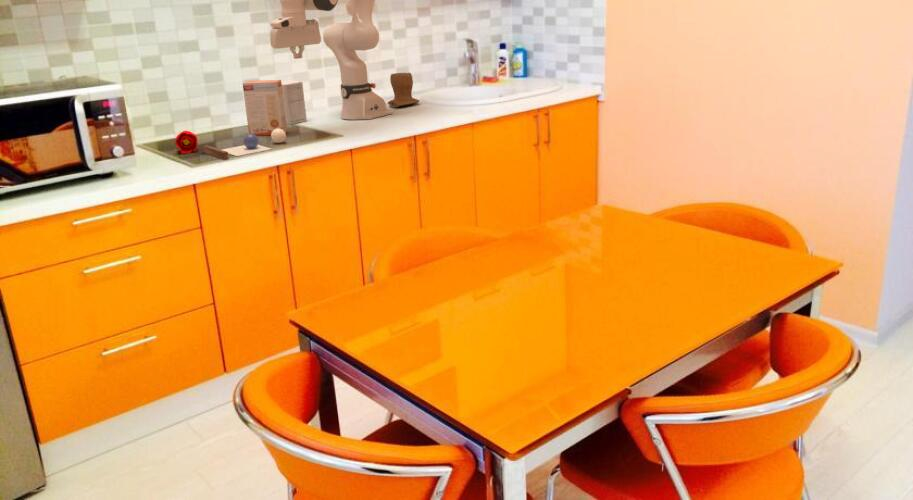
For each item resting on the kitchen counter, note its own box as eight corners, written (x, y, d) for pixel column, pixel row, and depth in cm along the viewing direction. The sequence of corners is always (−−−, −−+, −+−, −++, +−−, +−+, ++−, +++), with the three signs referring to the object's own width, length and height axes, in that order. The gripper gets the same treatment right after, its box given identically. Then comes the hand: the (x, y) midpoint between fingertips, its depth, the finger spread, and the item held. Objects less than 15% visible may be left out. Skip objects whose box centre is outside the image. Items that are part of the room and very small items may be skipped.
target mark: (253, 143, 307) (253, 143, 307) (272, 149, 297) (272, 148, 297) (219, 150, 299) (219, 150, 299) (237, 156, 289) (236, 155, 289)
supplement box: (295, 118, 352) (290, 79, 346) (307, 121, 345) (303, 81, 340) (276, 122, 345) (271, 82, 340) (288, 125, 339) (283, 84, 333)
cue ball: (266, 137, 306) (277, 146, 309) (271, 137, 302) (283, 145, 305) (273, 125, 308) (285, 134, 310) (279, 125, 303) (291, 133, 306)
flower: (200, 133, 304) (200, 137, 296) (194, 153, 305) (194, 157, 298) (179, 126, 301) (178, 130, 293) (173, 146, 302) (172, 150, 295)
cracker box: (287, 132, 326) (281, 79, 319) (283, 135, 320) (277, 81, 313) (253, 132, 327) (247, 80, 320) (248, 135, 322) (241, 82, 315)
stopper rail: (208, 152, 297) (207, 145, 296) (228, 158, 286) (227, 151, 285) (204, 152, 296) (203, 146, 295) (224, 159, 285) (223, 152, 284)
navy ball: (238, 136, 298) (243, 150, 301) (245, 138, 294) (250, 152, 297) (251, 130, 301) (256, 144, 303) (258, 132, 297) (263, 146, 299)
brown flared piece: (405, 101, 381) (403, 69, 376) (423, 104, 373) (421, 71, 368) (381, 107, 371) (378, 73, 366) (398, 109, 363) (396, 75, 358)
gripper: (313, 18, 315) (317, 54, 320) (266, 22, 303) (270, 60, 307) (322, 18, 311) (325, 55, 315) (274, 23, 298) (279, 62, 303)
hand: (298, 58), depth 311 cm, fingers closed
